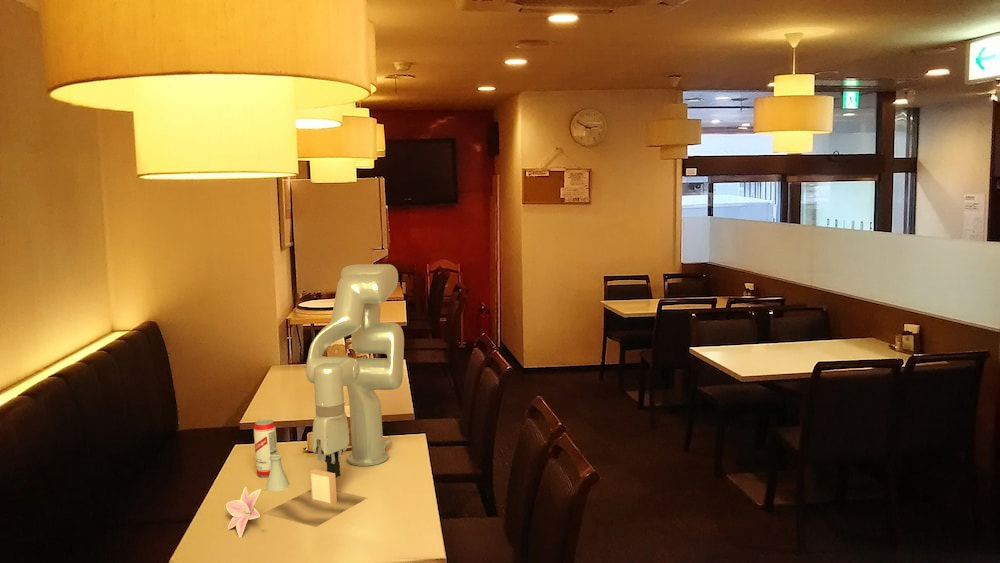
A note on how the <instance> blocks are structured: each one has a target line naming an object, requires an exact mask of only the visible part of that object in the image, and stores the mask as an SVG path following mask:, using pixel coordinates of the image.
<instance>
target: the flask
mask: <svg viewBox="0 0 1000 563" xmlns="http://www.w3.org/2000/svg"><path fill="white" fill-rule="evenodd" d="M269 459H270V460H271V469H270V474H269V477H267V482H266V485H265V489H264V491H265V492H266V491H269V492H280V491H285V490H286V489H288V488H289V486H290V484H291V483H290V481H289V480H288V478H287V475H286V474H285V471H284V469H283V465H282V462H281V459H282V455H281V454H278V455H272V456H270V458H269Z"/></svg>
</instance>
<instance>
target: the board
mask: <svg viewBox="0 0 1000 563" xmlns="http://www.w3.org/2000/svg"><path fill="white" fill-rule="evenodd" d="M336 495H337V503H335V504H333V505H329V504H325V503H321V502H317V501H312V496H311V489H309V490H307V491H305V492H303V493H302V494H301V493H300V494H299V495H297V496H296V497H292V498H291V499H289V500H287V501H285V502H283V503H281V504H279V505H278V506H275V507H273V508H272V509H269V510H268V511H266V512H263V514H264V515H268V516H270V517H276V518H279V519H283V520H287V521H290V522H295V523H297V524H298V523H299V524H302V525H305V526H306V525H307V526H309V527H315V528H317V527H319V526H320V525H322V524H324V523H326V522H328V521H329V520H331V519H333V518H335V517H336V516H338V515H340V514H342V513H343V512H345V511H347V510H350V508H353V507H354V506H356V505H357V504H360V503H362V502H363V501H365V500H367V499H368V497H366V496H361V495H356V494H353V493H347V492H343V491H339V490H336Z"/></svg>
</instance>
